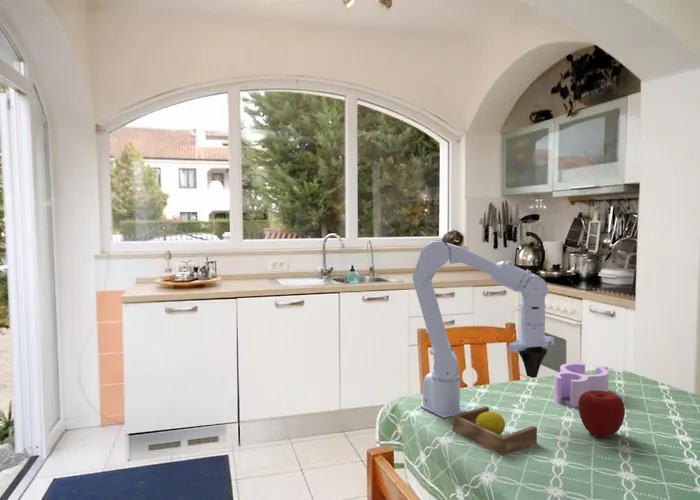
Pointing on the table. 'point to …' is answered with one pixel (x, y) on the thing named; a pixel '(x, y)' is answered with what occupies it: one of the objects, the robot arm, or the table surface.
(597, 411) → the apple
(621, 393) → the table surface
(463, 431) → the frame
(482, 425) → the lemon
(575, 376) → the clip
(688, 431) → the table surface
